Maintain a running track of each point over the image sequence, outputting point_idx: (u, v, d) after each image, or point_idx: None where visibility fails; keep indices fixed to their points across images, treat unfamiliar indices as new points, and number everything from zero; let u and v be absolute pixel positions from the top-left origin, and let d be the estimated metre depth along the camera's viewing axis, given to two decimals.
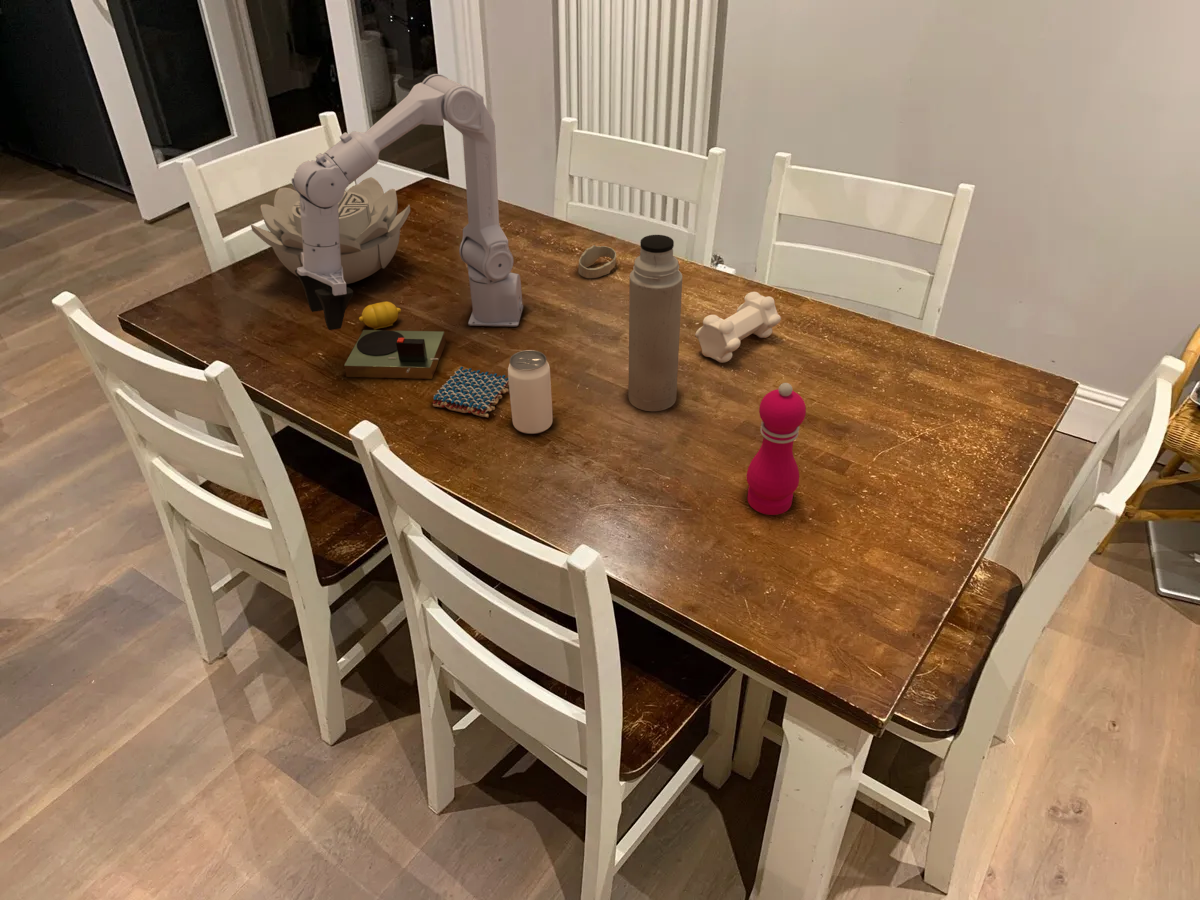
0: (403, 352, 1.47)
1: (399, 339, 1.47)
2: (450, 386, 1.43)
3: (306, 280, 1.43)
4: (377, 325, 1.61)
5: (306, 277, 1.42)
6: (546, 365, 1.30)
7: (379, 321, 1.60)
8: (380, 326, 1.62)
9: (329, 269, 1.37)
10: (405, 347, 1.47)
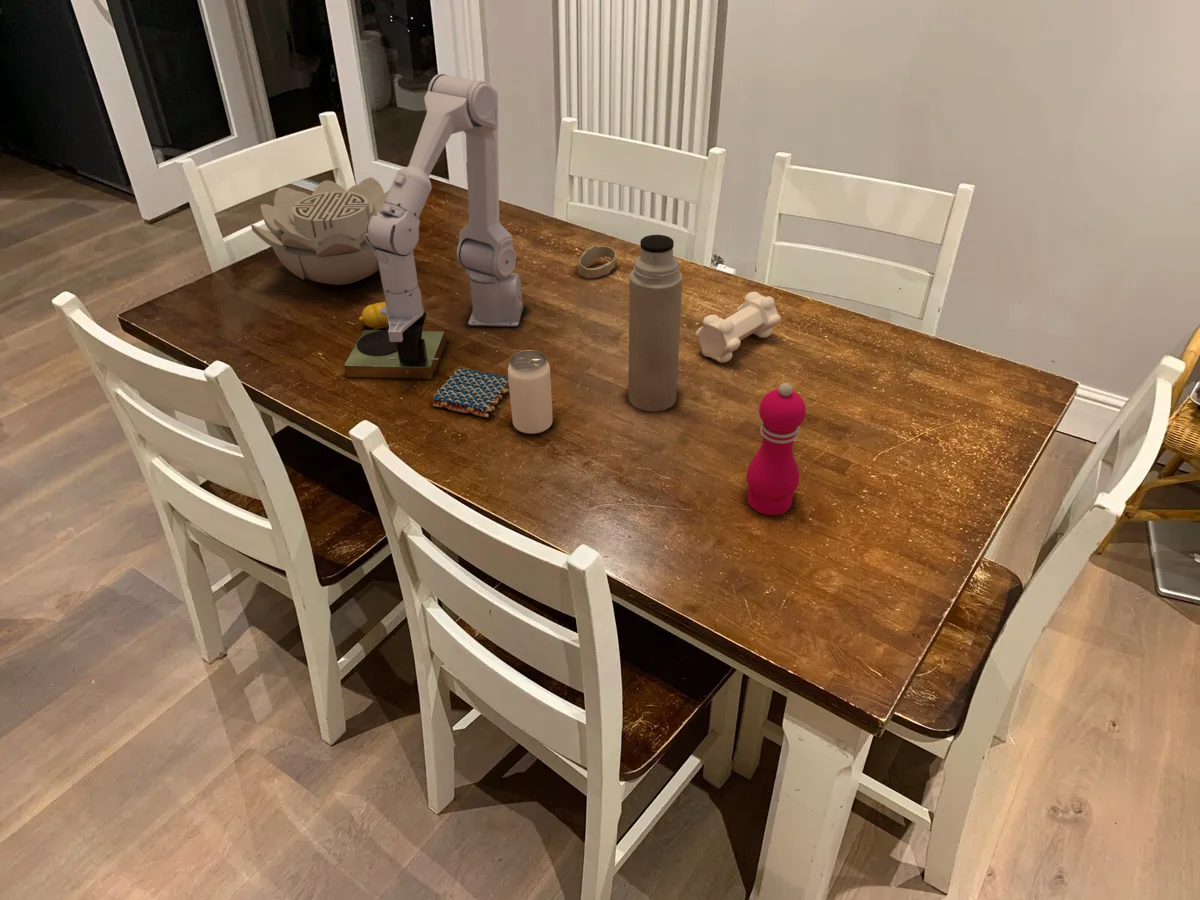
0: None
1: None
2: (450, 386, 1.43)
3: None
4: (377, 325, 1.61)
5: None
6: (546, 365, 1.30)
7: (379, 321, 1.60)
8: (380, 326, 1.62)
9: (400, 314, 1.40)
10: None
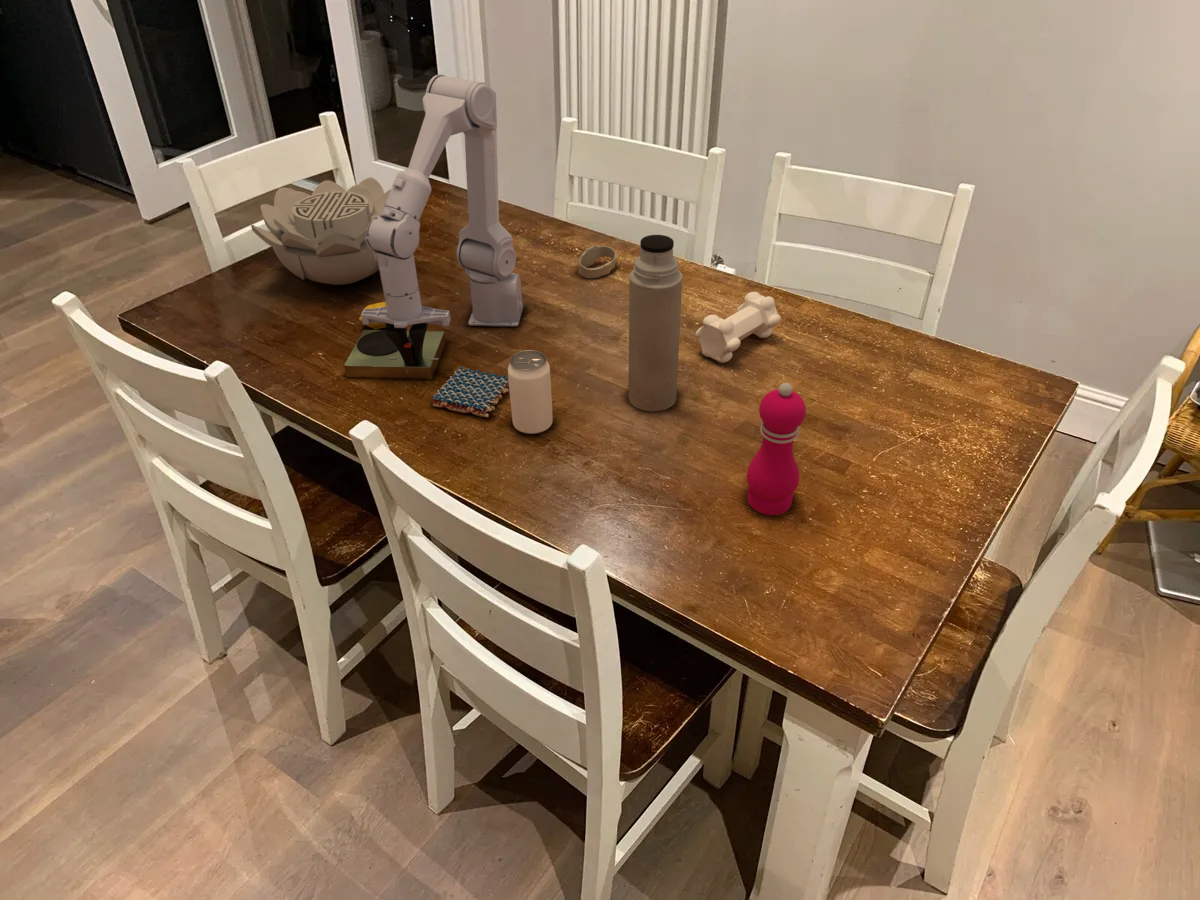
0: None
1: (407, 345, 1.45)
2: (450, 386, 1.43)
3: (400, 335, 1.44)
4: (377, 325, 1.61)
5: (400, 332, 1.44)
6: (546, 365, 1.30)
7: None
8: (380, 326, 1.62)
9: (421, 309, 1.43)
10: None
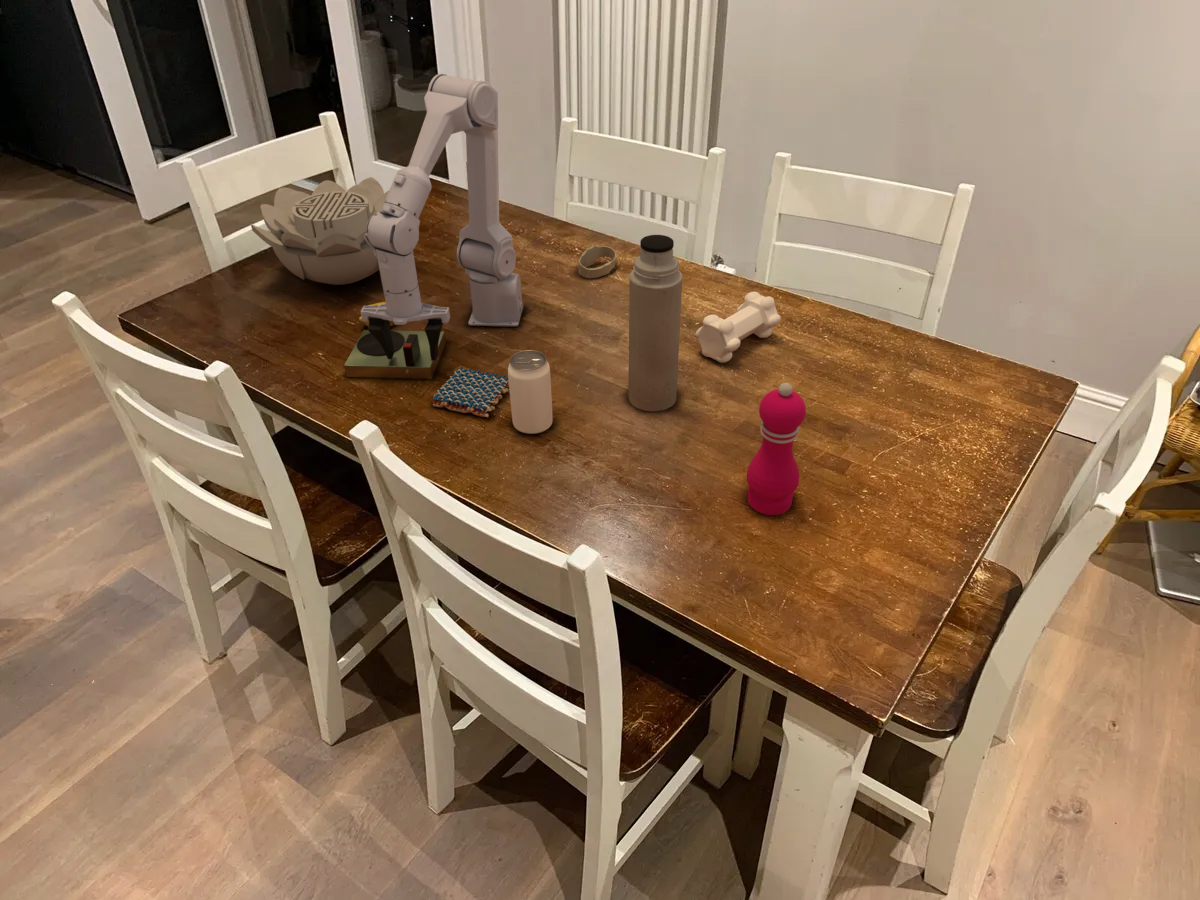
0: (414, 354, 1.47)
1: (407, 345, 1.45)
2: (450, 386, 1.43)
3: (384, 332, 1.44)
4: None
5: (383, 329, 1.44)
6: (546, 365, 1.30)
7: None
8: None
9: (421, 306, 1.43)
10: (414, 347, 1.47)
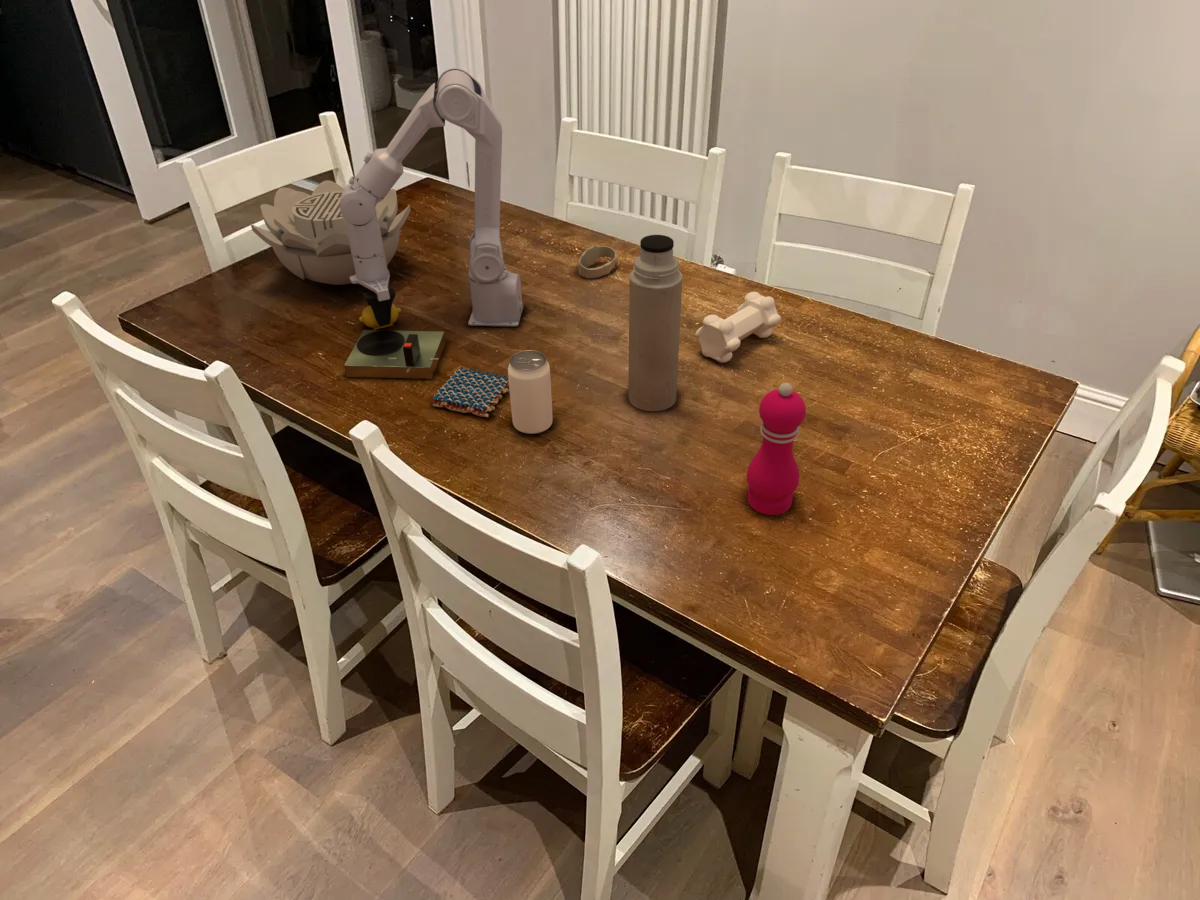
0: (414, 354, 1.47)
1: (407, 345, 1.45)
2: (450, 386, 1.43)
3: (364, 288, 1.60)
4: (377, 325, 1.61)
5: (363, 285, 1.60)
6: (546, 365, 1.30)
7: None
8: (380, 326, 1.62)
9: (376, 277, 1.54)
10: (414, 347, 1.47)
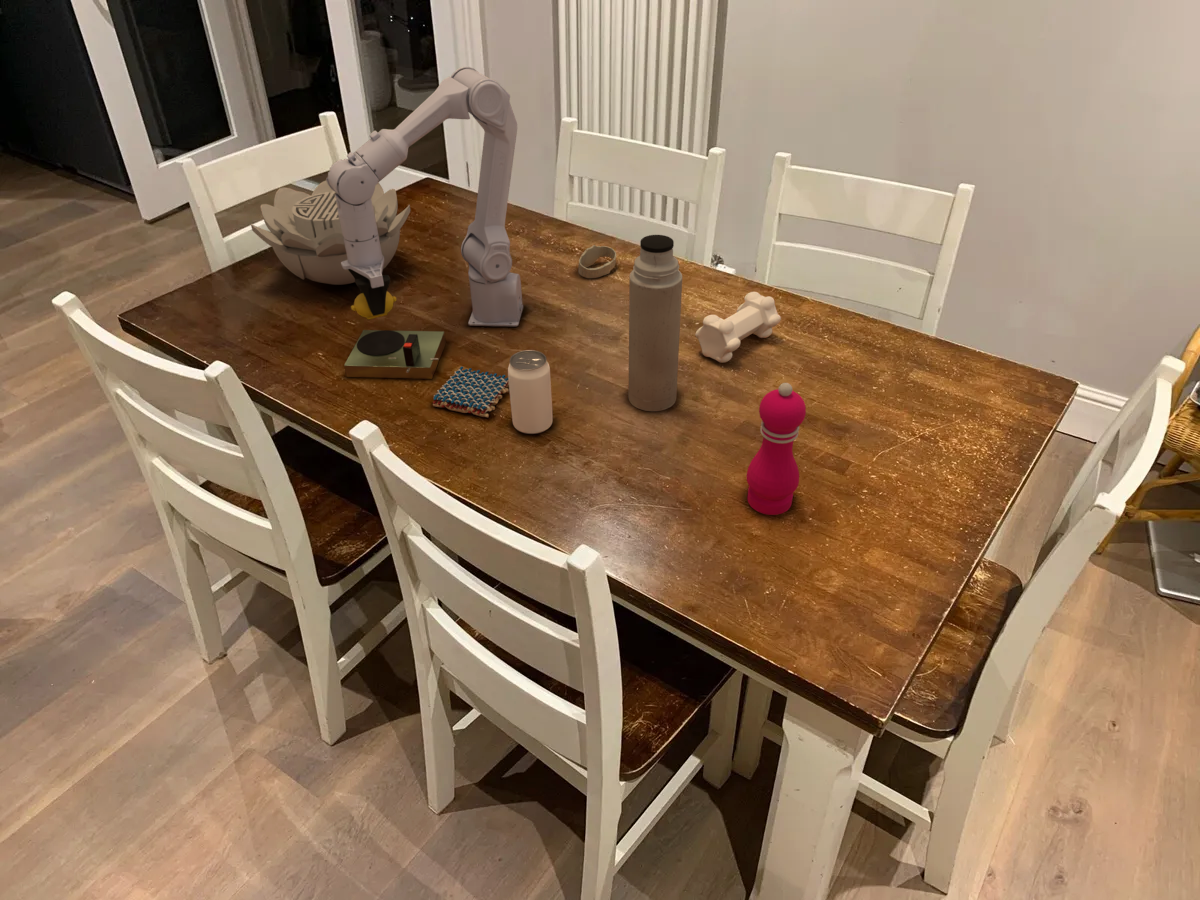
0: (414, 354, 1.47)
1: (407, 345, 1.45)
2: (450, 386, 1.43)
3: (356, 274, 1.49)
4: (370, 314, 1.50)
5: (356, 271, 1.49)
6: (546, 365, 1.30)
7: None
8: (374, 316, 1.50)
9: (369, 262, 1.43)
10: (414, 347, 1.47)
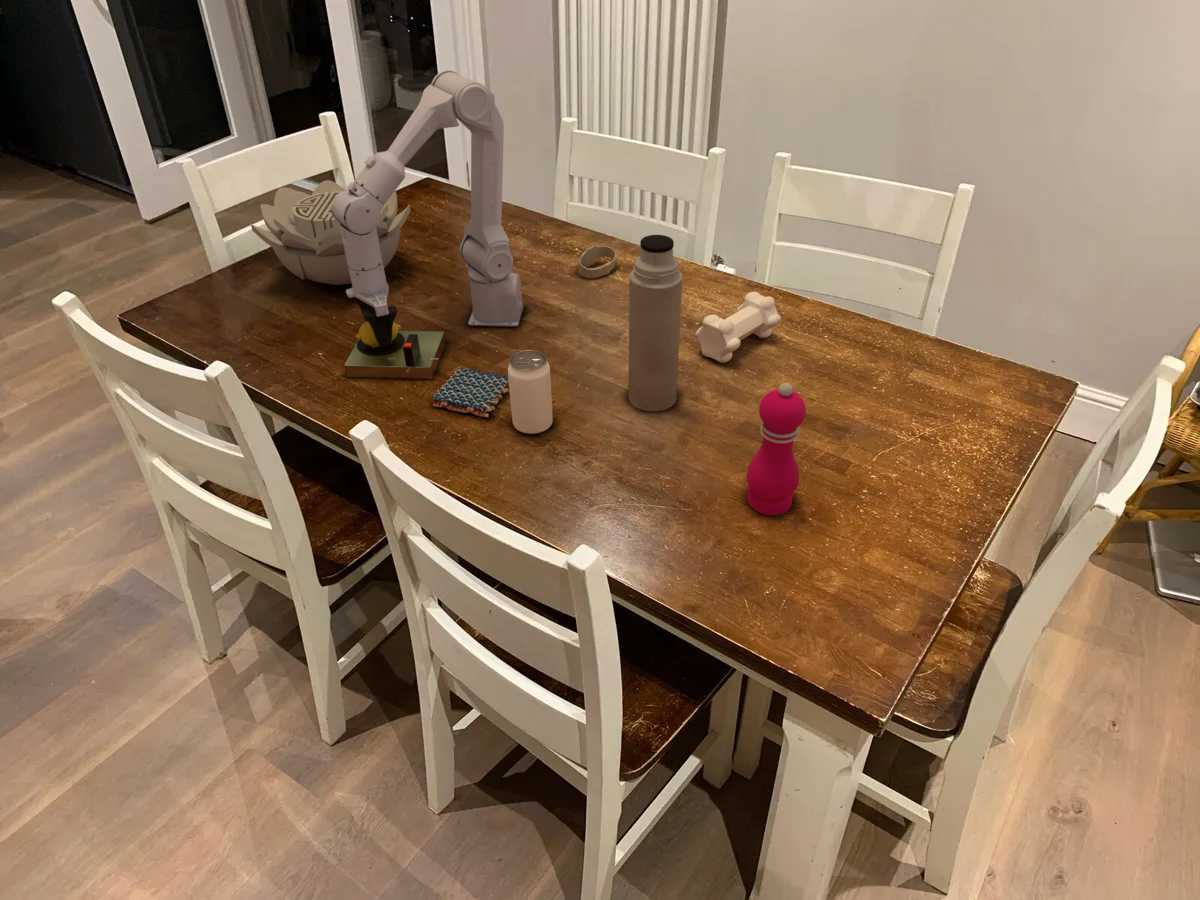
0: (414, 354, 1.47)
1: (407, 345, 1.45)
2: (450, 386, 1.43)
3: None
4: (375, 343, 1.51)
5: None
6: (546, 365, 1.30)
7: None
8: (378, 344, 1.51)
9: (374, 290, 1.44)
10: (414, 347, 1.47)
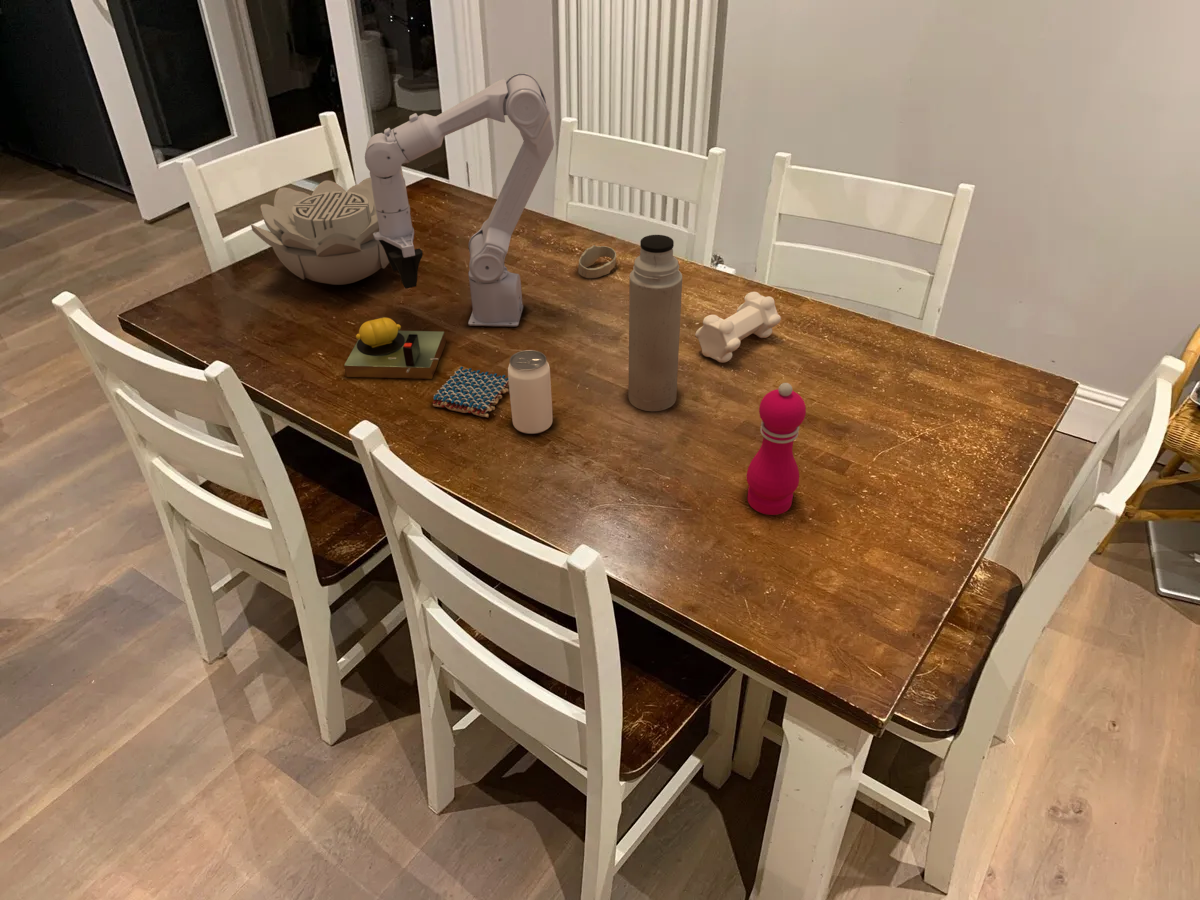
0: (414, 354, 1.47)
1: (407, 345, 1.45)
2: (450, 386, 1.43)
3: (385, 243, 1.56)
4: (375, 343, 1.51)
5: (385, 240, 1.56)
6: (546, 365, 1.30)
7: (377, 339, 1.50)
8: (378, 344, 1.51)
9: (400, 233, 1.50)
10: (414, 347, 1.47)
